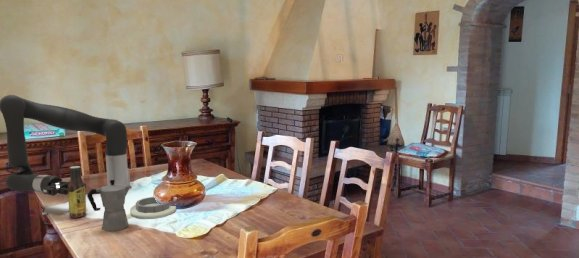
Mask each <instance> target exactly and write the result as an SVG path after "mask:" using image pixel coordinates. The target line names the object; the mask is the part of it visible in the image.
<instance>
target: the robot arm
mask: <svg viewBox="0 0 579 258" xmlns="http://www.w3.org/2000/svg"><path fill="white" fill-rule="evenodd" d="M0 112H1V114H2V117H3V120H4V123H5V129H6V149H7V157H8V159H7V160H8V165H9V167H11V168H18V169H19V171H18V172H15V173H11V174H9V175H8V176H7V177H6V179H5V185H6V187H7V188H8V189H9V190H11V191H15V192H20V191H21V192H24V191H25V192H27V191H32V192H36V193H40V194H44V195H46V196H47V195H48V196H56V195H58V196H59V195H65V196H66V195H67V196H68V183H69V181H70V180H63V179H62V178H61V177H59V176H57V175H49V174H38V173H37V174H36V173H34V171H33V169H32V166H31V165H30V162H29V157H28V156H29V155H28V147H27V142H26V135H25V119H30V120H34V121H38V122H40V123H43V124H45V125H48V126H51V127H54V128H58V129H62V130H67V131H74V132H75V131H76V132H89V133H93V134H97V135H100V136H103V137H105V142H106V146H105V147H106V148H105V152H104V153H105V164H106V178H107V179H106V181H107V186H108V185H111V183H110V180H115V182H114V184H121V185H130V186H131V180H130V179H131V177H130V168H129V167H128V155H127V154H128V153H127V148H128V133H127V127H126V125H125V124H124V123H123V122H122V121H119V120H117V119H114V118H113V119H111V118H104V117H103V118H102V117H98V116H94V115H91V114H88V113H85V112H82V111H80V110H77V109H72V108H69V107H63V106H59V105H51V104H45V103H44V104H43V103H39V102H34V101H31V100H29V99H25V98H23V97H21V96H17V95H15V94H8V95H5V96H3V97H2V98H1V99H0ZM83 183H84V185H85V190H86V189H87V184H86V183H85V182H83Z"/></svg>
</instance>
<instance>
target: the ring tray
mask: <svg viewBox="0 0 579 258" xmlns="http://www.w3.org/2000/svg"><path fill="white" fill-rule="evenodd" d="M154 197H155V196H150V197H143V198H141V199H138V200H136V202H135V205H133V206H131V207H130V209H129V214H131V215H130V216H131V217H133V218H136V219H139V220H140V219H141V220H147V219H148V220H151V219H158V218H163V217H167V216H170V215H172V214H174V213H175V212H176V210H177V206H170V205H169V202H168V201H166V203H163V204H161V205H160V204H158V203H157V202H156V200H155V198H154Z"/></svg>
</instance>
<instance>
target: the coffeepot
mask: <svg viewBox="0 0 579 258" xmlns="http://www.w3.org/2000/svg"><path fill="white" fill-rule="evenodd" d="M114 182H115V180H110V183H111V185H108V184H107V185H105V186H104V185H103V186H101V187H98V188H93V189H92V188H91V189H90V190H89V191H88V193H87V194H86V198H87V199H88V201H89V203H90V205H91V207H92V209H93V211H95V212H97V211H101V207H97V204H96V201H95V199H94V197H93V195H100V199H101V203H102V206H103V208H104V211H103V218H102V219H103V220H102V226H101V228H102V230H104V231H106V232H116V231H117V232H118V231H122V230H124V229H126V228H127V227H128V226H129V220H128V218H127V216H128V215H127V212H126V209H125V207H124V206H125V204H126V203H125V202H126V196H127V194H128V193H129V191H130V189H131V188H132V185H131V184H130V185H121V184H114Z"/></svg>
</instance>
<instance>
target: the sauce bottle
mask: <svg viewBox="0 0 579 258" xmlns="http://www.w3.org/2000/svg"><path fill="white" fill-rule="evenodd" d="M81 171H82V167H81V166H80V165H75V166H73V165H72V166H69V173H70V176H69V177H70V180H68V181H69V183H68V194H67V198H68V212H69V217H70V218H74V219H77V218H82V217H85V216H86V214H87V194H86V189H85V185H84V183H85V182H84V181H83V179H82V175H81V173H82V172H81Z"/></svg>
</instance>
